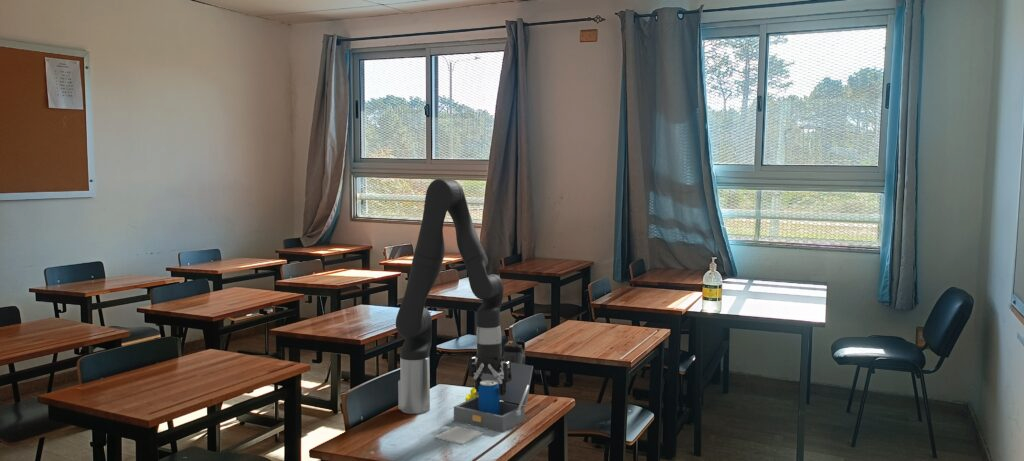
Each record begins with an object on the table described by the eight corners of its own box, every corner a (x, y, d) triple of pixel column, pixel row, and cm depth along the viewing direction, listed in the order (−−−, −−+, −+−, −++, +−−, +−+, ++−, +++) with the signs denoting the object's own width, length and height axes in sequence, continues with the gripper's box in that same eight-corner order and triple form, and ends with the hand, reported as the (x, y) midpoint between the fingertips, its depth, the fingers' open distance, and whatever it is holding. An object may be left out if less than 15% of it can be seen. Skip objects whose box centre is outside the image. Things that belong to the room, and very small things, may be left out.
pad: (435, 437, 205) (435, 436, 205) (456, 427, 214) (456, 426, 214) (463, 444, 200) (463, 443, 200) (483, 433, 208) (483, 432, 208)
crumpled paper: (461, 403, 237) (461, 380, 237) (480, 398, 243) (480, 375, 242) (472, 407, 233) (472, 383, 233) (491, 402, 238) (491, 379, 238)
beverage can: (502, 418, 222) (502, 380, 221) (495, 425, 215) (495, 386, 215) (483, 416, 224) (483, 378, 223) (475, 423, 218) (475, 384, 217)
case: (451, 421, 219) (451, 369, 218) (484, 406, 233) (484, 357, 232) (504, 433, 209) (504, 378, 207) (535, 416, 223) (535, 365, 222)
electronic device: (520, 407, 232) (520, 346, 230) (502, 406, 233) (502, 346, 232) (525, 399, 241) (525, 340, 240) (508, 398, 242) (508, 339, 241)
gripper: (462, 340, 218) (464, 393, 220) (501, 345, 211) (503, 399, 212) (477, 335, 225) (478, 386, 226) (515, 340, 217) (516, 393, 218)
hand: (490, 393), depth 219 cm, fingers open, 8 cm apart
